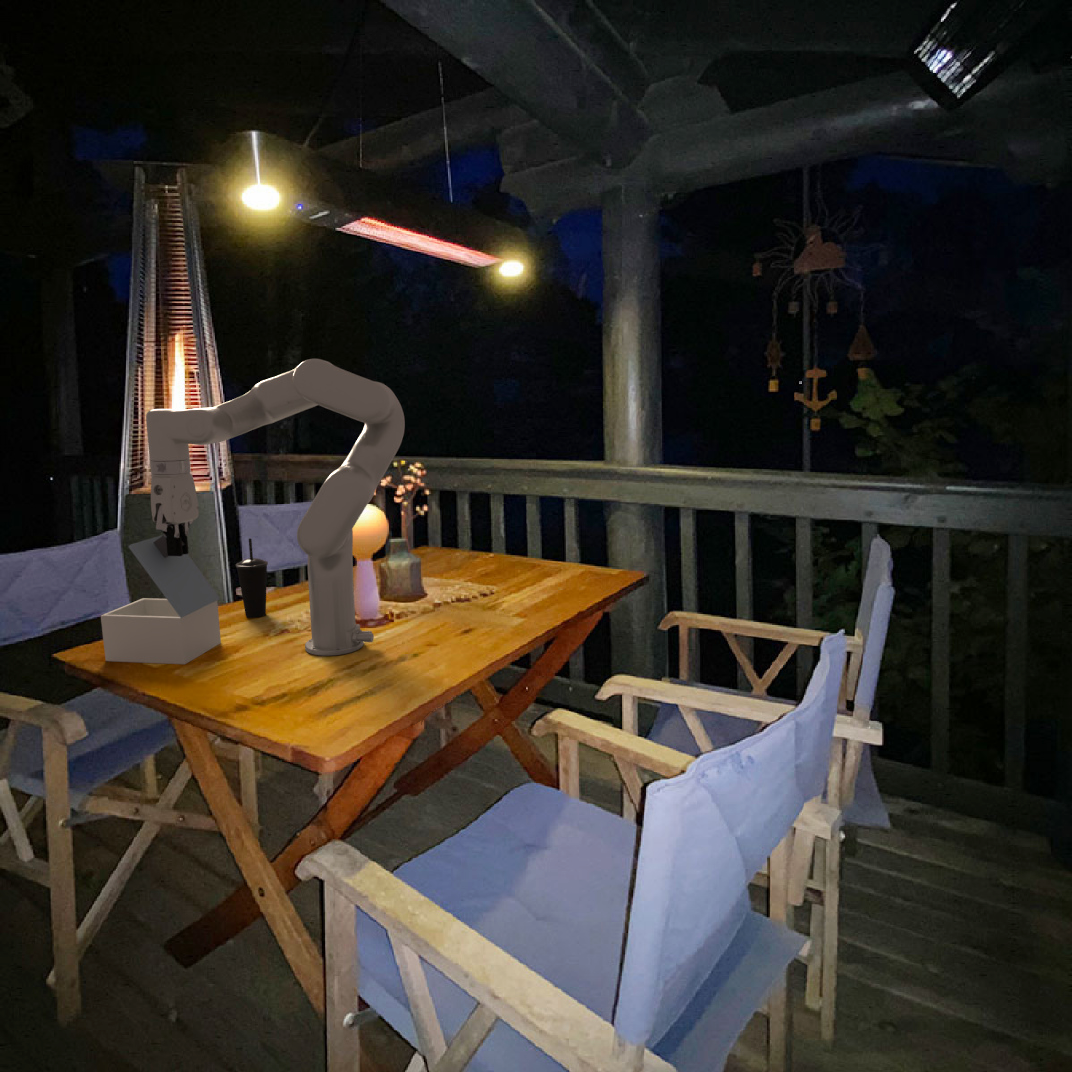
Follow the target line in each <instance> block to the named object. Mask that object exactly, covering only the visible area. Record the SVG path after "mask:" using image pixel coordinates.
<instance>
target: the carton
mask: <svg viewBox="0 0 1072 1072" xmlns="http://www.w3.org/2000/svg"><path fill="white" fill-rule="evenodd" d="M218 604H219V603H218V600H217V601H215V602H213V603H211V604H209V605H207V606H205V607H203V608H201V609H198V610H196V611H194V612H192V613H190V614H188V615H186V616H184V617H182V618H180V616H179V615H178V613H177V612H176V611H175V609H174V608H173V607H172V605H171V604H170V603H169V601H168V600H167V599H166V598H152V597H151V598H150V597H149V598H146V597H145V598H144V597H143V598H140V599H138V600H136V601H133V602H131V603H128V604H126V605H123V606H120V607H118V608H116V609H113V610H111V611H108V612H106V613H104V614H102V615H100V623H101V631H102V640H103V648H104V657H105V661H106V662H118V663H119V662H120V663H121V662H122V663H141V664H142V663H146V664H147V663H149V664H167V665H169V664H171V665H173V664H174V665H186V664H188V663H190V662H191V661H193V660H195V659H196V658H198V657H200V656H202V655H203V654H204V653H206V652H208V651H210V650H211V649H213V648H215V647H216V646H219V645H220V644H221V643H222V640H221V630H220V628H221V627H220V617H219V607H218Z"/></svg>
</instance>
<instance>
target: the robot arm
mask: <svg viewBox="0 0 1072 1072" xmlns="http://www.w3.org/2000/svg"><path fill="white" fill-rule="evenodd" d="M316 406H319V407H322V408H325V409H327V410H330V411H332V412H335V413H338V414H340V415H343V416H345V417H348V418H350V419H353V420H356V421H359V422H361V423H364V426H363V429H362V431H361V433H360V434H359V436H358V438H357V440H355V443H354V444H353V446H352V448H351V450H350V452H349V453H348V455H347V456H346V458H345V459H344V461H343V463H342V464H341V466H339V467H338V468H337V469H335V470H333V471H332V472H331V473H330V474H329V476H327V478H326V479H325V481H324V482H323V483H322V485H321V487H320V488H319V490H318V492H317V494H316V495H315V497H314V499H313V501H312V502H311V503H310V506H309V507H308V509H307V510H306V512H305V513H304V516H303V518H302V519H301V520H300V523H299V524H298V526H297V531H296V540H297V542H298V546H299V547H300V549H301V550H302V551H303V553H305V554H306V555H307V578H308V579H307V581H308V582H307V583H308V594H309V595H308V596H309V611H310V612H309V613H310V627H311V628H310V629H311V638H310V639H309V640H307V641H306V642H305V644H304V649H305V651H306V653H308V654H310V655H316V656H323V657H324V656H325V657H327V656H330V657H331V656H340V655H346V654H351V653H353V652H356V651H358V650H359V649H361V648H362V647H363V646H364V644H365V643H373V641H374V639H375V638H374V637H375V636H374V635H375V634H374V633H373V631H371V630H362V629H361V624H359V623H358V624H357V623H356V610H355V609H356V608H355V606H356V605H355V588H354V566H353V565H354V564H353V561H354V560H353V559H354V558H353V547H354V546H353V544H354V542H353V540H354V535H353V532H354V531H353V530H354V529H353V528H354V527H355V525H356V524H357V522H358V520H359V518H360V517H361V515H362V513H363V512H364V510H365V509H366V507H367V505H368V504H369V503H370V502H371V501H372V499H373V497H374V496H375V493H376V490H377V488H378V486H379V484H380V482H381V480H382V479H383V477H384V475H385V474H386V472H387V471H388V469H389V467H390V465H391V463H392V461H393V460H394V458H395V456H396V454H397V452H398V451H399V449H400V447H401V444H402V442H403V439H404V438H403V437H404V435H405V429H406V428H405V425H406V424H405V423H406V422H405V415H404V411H403V408H402V405H401V403H400V401H399V400H398V398H397V396H396V395H395V393H394V391H393V390H392V389H391V388H390V387H388V385H385V383H383V382H379V381H374V380H371V379H368V378H366V377H363V376H360V375H358V374H356V373H352V372H350V371H349V370H348V371H347V370H345V369H342V368H340V367H338V366H336V365H334V364H332V363H331V362H330V361H327V360H324V359H321V358H310V359H306V360H303V361H302V362H300V363H299V364H298V365H297V366H296V367H295V368H294V369H292V370H291V369H290V370H289V371H286V372H283V373H281V374H278V375H276V376H273V377H270V378H267V379H263V380H261V381H260V382H258V383H256V384H255V385H254V386H253V387H252V388H251V390H249V391H248V392H246V393H245V394H243V395H240V396H238V397H236V398H234V399H232V400H229V401H226V402H223V403H221V404H218V405H215V406H213V407H212V406H211V407H197V408H189V409H177V408H155V409H150V410H148V411H147V412H146V415H145V422H146V433H147V442H148V443H147V444H148V455H149V456H148V457H149V465H150V476H151V480H150V481H151V482H150V506H151V507H150V509H151V517H152V521H153V522H154V523H155V524H156V525H155V530H156V531H159V532H162V533H163V535H164V537H165V538H166V543H167V554H168V556H182V555H183V554H188V555H189V554H190V553H189V543H188V535H189V533H190V532H189V528H190V525H192V524H193V523H194V520H196V519H198V517H199V515H200V512H199V509H200V508H199V502H198V495H197V494H198V493H197V489H196V484H195V481H194V477H193V474H192V472H191V471H192V470H191V462H190V461H191V459H190V449H189V447H190V445H198V446H206V445H212V444H217V443H218V444H219V443H221V442H225V441H228V440H230V439H233V438H235V437H238V436H241V435H243V434H246V433H248V432H250V431H252V430H256V429H258V428H261V427H263V426H266V425H271V424H273V423H276V422H278V421H281V420H284V419H285V418H288V417H291V416H294V415H296V414H299V413H301V412H304V411H306V410H309V409H312V408H315V407H316ZM182 541H183V543H184V544H185V545H183V546H182Z"/></svg>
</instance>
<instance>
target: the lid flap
mask: <svg viewBox="0 0 1072 1072" xmlns="http://www.w3.org/2000/svg"><path fill="white" fill-rule="evenodd" d="M183 545H185V544H184V543H183V541H182V546H183ZM127 547H128V548H129V550H130V551H131V552H132V554H133V555H134V556H135V558H136V559H137V561H138V562H139V563H140V565H141V566H142V567H143V569H144V570H145V572H146V573H147V574H148V576H149V577H150V578H151V580H152V581H153V582H154V584H155V585H156V586H157V588H158V590H160V592H161V593H162V594H163V596H164V597H165V599H167V600H168V601H169V603H170V604H171V605H172V607H173V608H174V609H175V611H176V612H177V613H178V615H179V616H180V618H182V617H184V616H186V615H188V614H190V613H192V612H194V611H196V610H198V609H201V608H203V607H205V606H207V605H209V604H211V603H213V602H215V601H217V602H218V601H219V600H220V599H221V597H220V596H219V595H218V594H217V592H216V590H214V588H213V587H212V586H211V584H210V582H209V581H208V580H207V579H206V577H205V576H204V575H203V573H202V571H201V570H200V569H199V568H198V566H197V565H196V563H195V562H194V560H193V559H192V558H191V556H190V555H189V553H188V554H183V555H182V556H168V554H167V543H166V538H165V537H164V534H162V535H158V536H155V537H152V538H148V539H145V540H142V541H141V540H140V541H138V542H134V543H132V544H129V545H128V546H127Z"/></svg>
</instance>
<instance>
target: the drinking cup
mask: <svg viewBox="0 0 1072 1072" xmlns="http://www.w3.org/2000/svg"><path fill="white" fill-rule="evenodd" d="M252 540H253V539H252V538H248V548H249V551H248V552H249V558H246V559H243V560H241V561H239V562H237V563H236V564H235V567H236V569H237V575H238V580H239V586H240V591H241V596H242V603H243V608H244V609H243V610H244V615H245V617H246V618H250V619H257V618H261V617H264V616H266V613H267V579H268V577H267V575H268V572H267V571H268V565H269V562H268V561H266V560H263V559H261V558H254V556H253V543H252V542H253V541H252Z"/></svg>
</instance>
